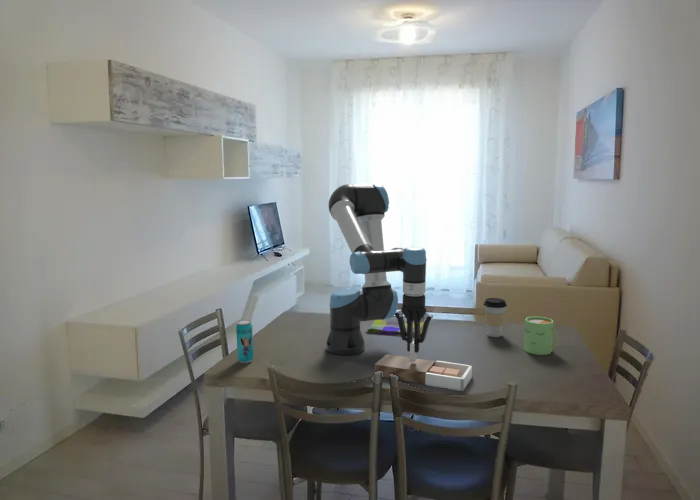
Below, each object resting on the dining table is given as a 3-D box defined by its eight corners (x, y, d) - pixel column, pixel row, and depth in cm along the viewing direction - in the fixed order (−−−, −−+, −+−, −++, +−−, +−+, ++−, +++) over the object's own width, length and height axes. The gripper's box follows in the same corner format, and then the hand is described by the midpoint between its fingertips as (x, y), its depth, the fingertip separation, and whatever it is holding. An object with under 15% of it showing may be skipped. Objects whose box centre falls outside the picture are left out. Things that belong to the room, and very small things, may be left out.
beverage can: (240, 365, 200) (238, 325, 198) (235, 360, 205) (234, 321, 203) (255, 362, 203) (254, 322, 200) (250, 357, 208) (249, 318, 206)
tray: (425, 385, 181) (425, 373, 180) (436, 371, 192) (436, 360, 192) (463, 391, 175) (463, 379, 175) (472, 376, 187) (472, 365, 186)
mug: (519, 350, 212) (520, 320, 210) (531, 344, 220) (532, 314, 218) (551, 358, 204) (552, 327, 202) (562, 351, 211) (564, 320, 209)
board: (374, 375, 189) (374, 364, 188) (386, 364, 199) (386, 354, 198) (425, 383, 182) (425, 372, 181) (434, 372, 191) (435, 361, 191)
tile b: (456, 374, 180) (456, 383, 180) (460, 369, 184) (460, 378, 185) (443, 372, 182) (443, 381, 182) (446, 367, 186) (446, 376, 186)
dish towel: (375, 322, 253) (375, 317, 252) (428, 327, 245) (428, 321, 245) (364, 334, 236) (364, 327, 236) (420, 339, 229) (421, 332, 229)
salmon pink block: (428, 379, 184) (428, 370, 184) (432, 374, 188) (432, 366, 188) (442, 381, 182) (442, 372, 182) (445, 376, 186) (445, 367, 186)
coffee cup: (506, 339, 226) (507, 303, 224) (482, 337, 228) (483, 302, 226) (504, 332, 235) (506, 297, 233) (482, 331, 237) (483, 297, 235)
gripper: (391, 294, 184) (391, 361, 188) (429, 298, 179) (428, 367, 183) (399, 289, 191) (398, 354, 195) (436, 292, 185) (434, 359, 190)
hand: (413, 360), depth 189 cm, fingers closed
